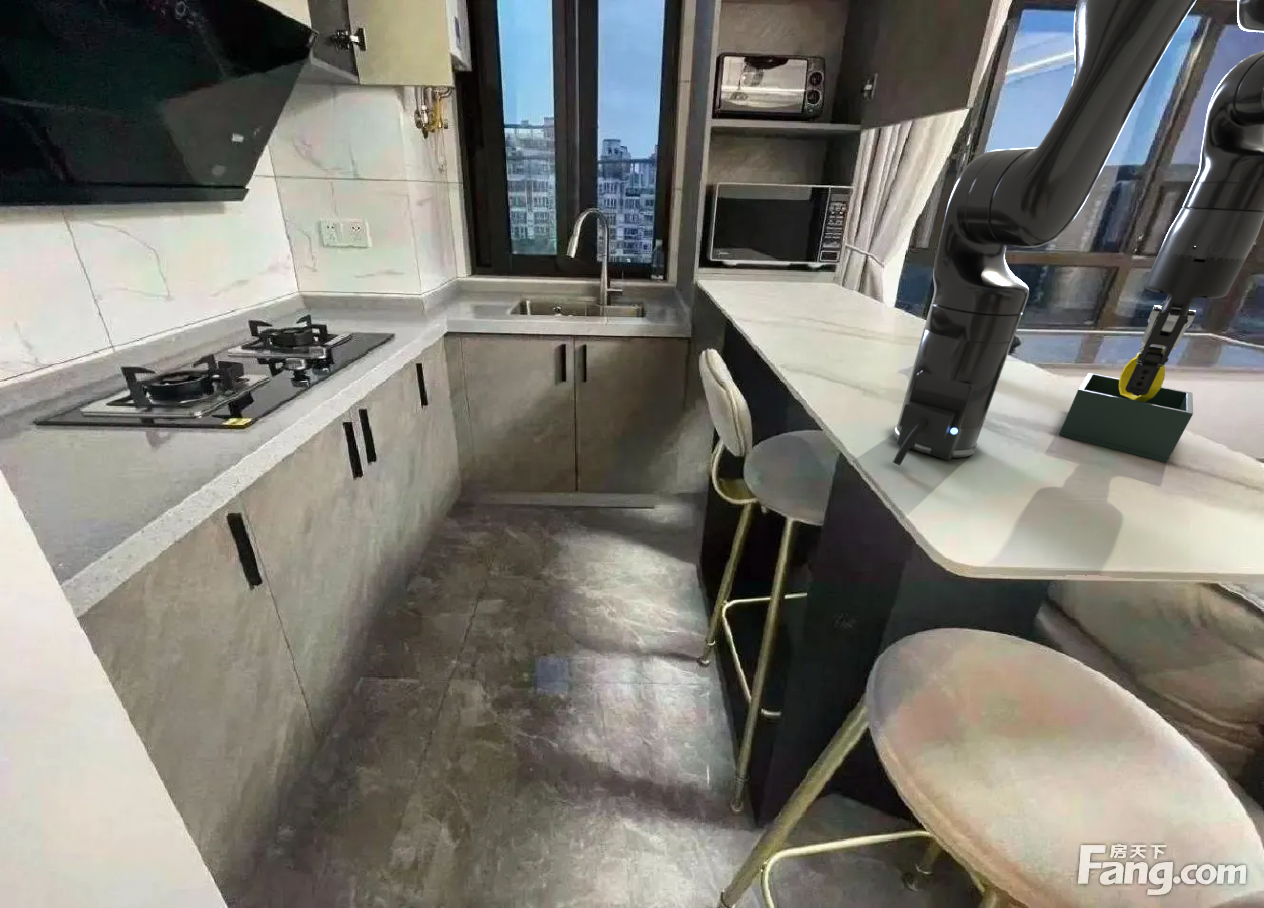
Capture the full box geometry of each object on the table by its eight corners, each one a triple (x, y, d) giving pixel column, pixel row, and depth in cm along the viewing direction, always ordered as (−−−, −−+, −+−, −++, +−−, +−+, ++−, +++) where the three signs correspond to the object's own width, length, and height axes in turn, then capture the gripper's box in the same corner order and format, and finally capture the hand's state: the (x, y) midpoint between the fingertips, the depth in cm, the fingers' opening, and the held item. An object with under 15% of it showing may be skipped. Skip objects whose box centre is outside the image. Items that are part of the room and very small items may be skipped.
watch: (1157, 407, 69) (1181, 362, 66) (1133, 405, 69) (1155, 360, 67) (1130, 392, 74) (1150, 350, 72) (1107, 390, 75) (1126, 348, 72)
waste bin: (1166, 462, 67) (1193, 413, 64) (1058, 435, 74) (1078, 389, 71) (1168, 437, 75) (1192, 392, 72) (1070, 414, 81) (1088, 372, 78)
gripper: (1162, 246, 71) (1106, 370, 78) (1158, 251, 61) (1095, 392, 69) (1242, 253, 66) (1175, 384, 74) (1252, 259, 57) (1173, 409, 64)
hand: (1136, 387), depth 71 cm, fingers closed on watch, 5 cm apart
